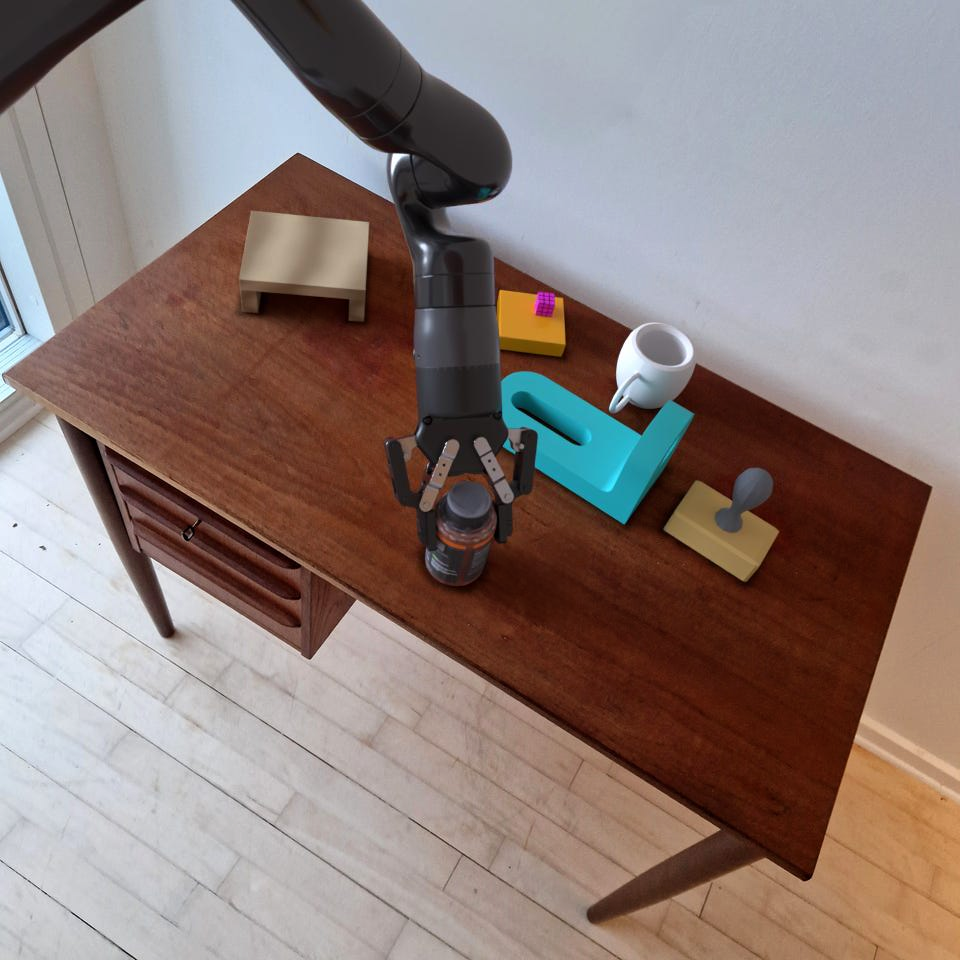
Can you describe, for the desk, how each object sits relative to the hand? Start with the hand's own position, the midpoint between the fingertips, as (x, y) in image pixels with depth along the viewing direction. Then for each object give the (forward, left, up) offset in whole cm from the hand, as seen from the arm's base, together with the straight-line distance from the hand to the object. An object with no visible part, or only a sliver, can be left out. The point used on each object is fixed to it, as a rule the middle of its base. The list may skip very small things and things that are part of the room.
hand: (466, 544), depth 77 cm
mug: (+22, +25, -6) cm, 34 cm away
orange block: (+10, +35, -6) cm, 37 cm away
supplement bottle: (0, +2, -6) cm, 7 cm away
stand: (-17, +40, -6) cm, 44 cm away
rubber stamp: (+28, +6, -6) cm, 29 cm away
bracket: (+13, +17, -6) cm, 22 cm away
